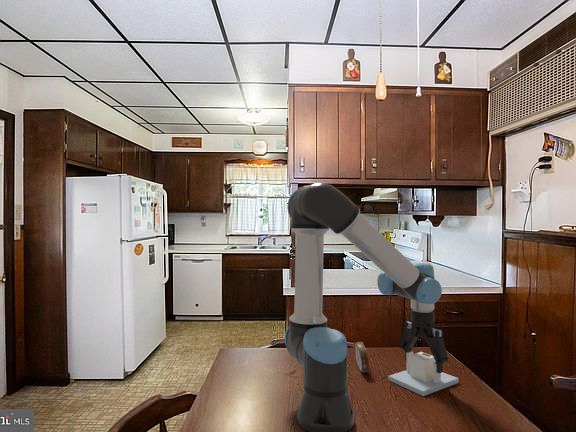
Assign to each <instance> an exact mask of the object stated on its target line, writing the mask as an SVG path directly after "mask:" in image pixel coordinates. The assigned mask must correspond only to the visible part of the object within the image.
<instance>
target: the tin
mask: <svg viewBox="0 0 576 432" xmlns="http://www.w3.org/2000/svg"><path fill="white" fill-rule="evenodd" d="M354 346H355V347H354V348H355V360H356V363H357V366H358V369H359V371H360V372H361V373H369V371H370V365H369V364H370V363H369V356H368V351H367V348H366V347H365V345H364V343H363V341H357V342H356V341H355V343H354Z"/></svg>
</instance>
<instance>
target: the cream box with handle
mask: <svg viewBox="0 0 576 432" xmlns="http://www.w3.org/2000/svg"><path fill="white" fill-rule="evenodd" d="M433 362H436V361H435V359H434V356H433V354H430V353H426V352H423V351H419V352H415V353H413V354H412V355H410V376H412V377H414V378H416V379H419V380H421V381H424V382H427V381H430V380H433V379H434V367H433Z"/></svg>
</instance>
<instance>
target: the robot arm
mask: <svg viewBox="0 0 576 432" xmlns="http://www.w3.org/2000/svg"><path fill="white" fill-rule="evenodd" d="M287 213H288V214H289V217H290V222H291V224H290V229H291V231H292V232H293V233H294V234H295V258H294V259H295V262H294V264H295V266H294V271H295V272H294V310H293V313H292V314H291V315H290V316H289V320H288V323H289V324H288V327H287V328H286V329H285V334H284V344H285V346H286V350H287V351H288V354H290V356H291V357H293V359H294V360H295V361H296V362H298V364H299V365H300V366H301V367H302V368H303V392H302V396H301V398H300V403H299V406H298V408H297V423H298V426H300V427H301V428H302V429H303V430H305V431H306V432H348V431H350V430H351V429H352V428H353V426H354V425H355V414H354V410H353V406H352V403H351V400H350V397H349V394H348V352H349V351H348V345H347V344H348V343H347V339H346V336H345V335H344V333H342V332H341V331H339V330H337V329H334V328H333V329H332V328H330V327H328V318H327V317H326V315H324V313H323V297H324V296H323V294H324V292H323V291H324V290H323V289H324V286H323V285H324V240H325V239H324V238H325V234H326V233H328V232H329V230H331V231H332V232H333V233H334V234H336V235H342V236H343V237H344V238H345V239H347V241H349V243H351V244H352V245H353V246H354V247H355V248H356V249H357V250H359V251H360V252H361V253H362V254H363V255H364V256H365V257H366V258H367V259H369V261H371V262H372V264H374V265H375V266H376V267H377V268H379V269H380V271H381V272H380V273H379V274H378V277H377V280H376V281H377V284H376V285H377V287H378V290H379V292H380V293H381V295H382V294H383V295H385V296H392V295H397V296H399V297H403V298H405V299H409V300H410V308H411V310H410V320H411V321H410V320H409V321H408V320H407V321H405V322H403V328H404V329H403V332H402V336H401V340H400V344H399V348H400V349H402V350H403V351H404V360H405V361H406V364H405V365H406V371H407V372H410V355H412V354H414V351H413V348H414V346H415V344H416V342H417V341H418V339H419V338H420V339H422V340H425V342H426V343H427V345H428V347H429V350H430V352H431V355H433V356H434V359H435V361H436V362H433V367H434V383H438V382H441V373H442V372H443V373H444V371H443V369H444V366H443V365H444V363H448V362H449V361H450V360H449V355H448V353H447V349H446V344H445V341H444V337H443V336H444V331H443V329H437V328H435V325H434V324H435V320H436V318H435V314H436V313H435V311H434V310H435V303H437V302H438V301H439V300H440V298H441V296H442V294H443V293H442V292H443V291H442V290H443V288H442V286H441V283H440V282H439V281H438V280H437V279H436V278H435V270H434V266H433V265H432V264H430V263H424V262H423V263H421V262H420V263H419V262H418V263H413V262H411V261H410V260H409V259H408V258H407V257H406V255H404V254H403V253H402V252H400V251H399V250H398V249H397V247H395V246H394V245H393V244H392V243H391V242H390V241H389V240H388V239H387V238H386V237H385V236H384V235H383V234H382V233H381V232H380V231H378V229H377V228H375V227H374V225H372V224H371V223H370V222H369V221H368V220H366V218H365V217H364V216H362V215H361V209H360V208H359V207H358V206H357V204H355V203H354V202H353V201H352V200H351V199H350V198H349V197H348V196H346V194H344V192H342V191H341V190H339V189H338V188H336V187H335V186H334V185H332V184H329V183H327V182H316V183H312V184H309V185H303V186H301V187H298V188H297V189H296V190H294V192H292V193H291V195H290V196H289V199H288V201H287ZM411 332H412V333H411Z"/></svg>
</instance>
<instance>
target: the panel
mask: <svg viewBox="0 0 576 432" xmlns="http://www.w3.org/2000/svg"><path fill="white" fill-rule="evenodd" d="M387 376H388V381H390V382H392V383H394V384H396V385H398V386H400V387H402V388H405V389H406V390H408V391H411V392H414V393H415V394H416V395H417V394H418V395H420V396H422V397H425V396H428V395H430V394H432V393H435V392H438V391H441V390H443V389H445V388H448V387H451V386H453V385H457V384H458V383H459V377H456V376H453V375H451V374H448V373H445V372H444V371H443V372H442V373H441V382H438V383H434V379H433V380H430V381H427V382H424V381H421V380H419V379H416V378H414V377H412V376H410V372H407V371H406V370H402V371H399V372H396V373H394V374H390V375H387Z"/></svg>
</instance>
